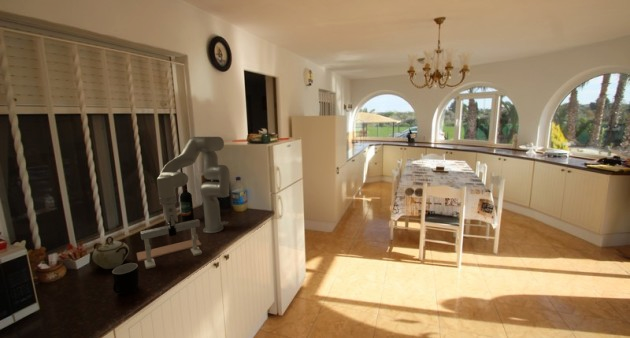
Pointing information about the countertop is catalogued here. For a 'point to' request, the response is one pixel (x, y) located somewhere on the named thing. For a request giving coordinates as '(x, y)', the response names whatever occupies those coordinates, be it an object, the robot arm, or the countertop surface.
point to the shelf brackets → (150, 262)
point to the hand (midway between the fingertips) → (172, 233)
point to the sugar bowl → (110, 253)
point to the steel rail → (165, 229)
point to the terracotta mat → (167, 249)
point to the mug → (125, 278)
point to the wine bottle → (186, 205)
